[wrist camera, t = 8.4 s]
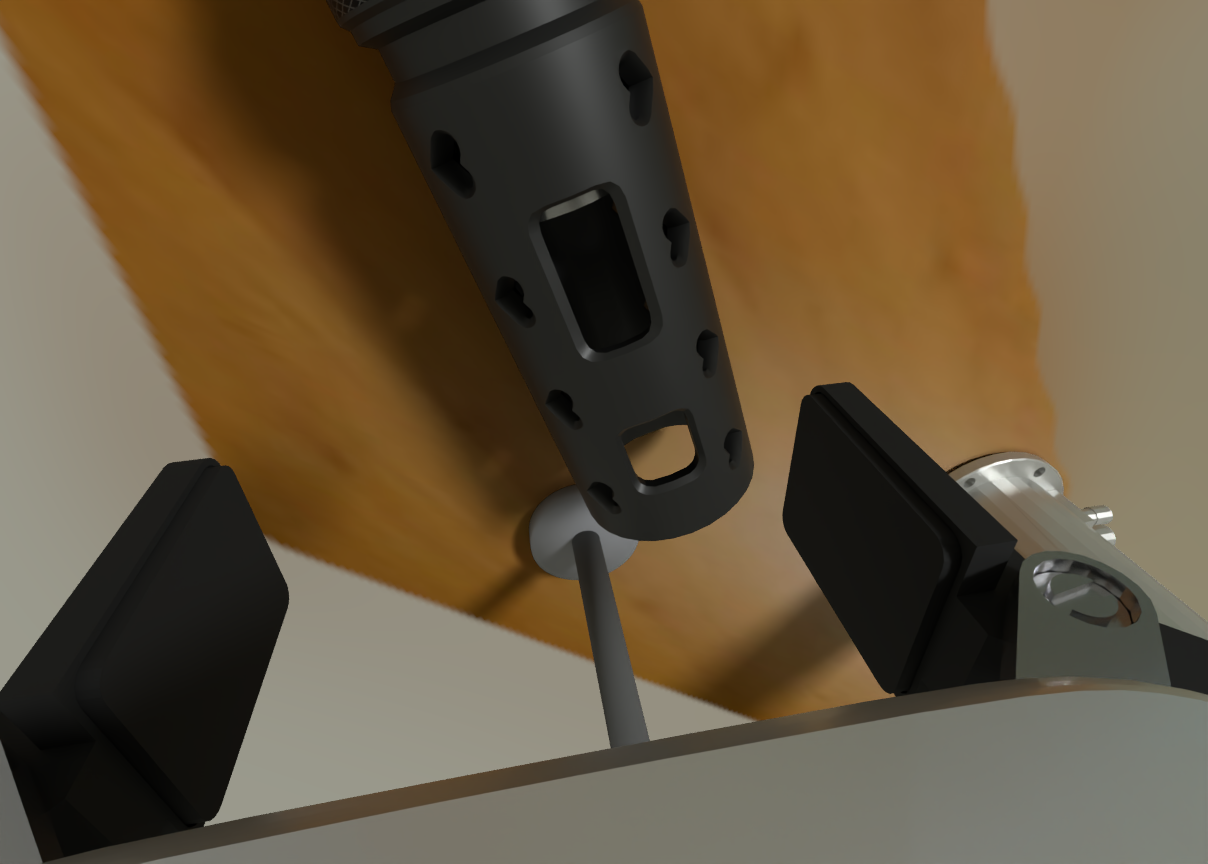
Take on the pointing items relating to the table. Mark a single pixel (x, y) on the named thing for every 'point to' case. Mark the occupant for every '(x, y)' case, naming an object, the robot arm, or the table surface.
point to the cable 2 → (593, 599)
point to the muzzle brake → (574, 234)
